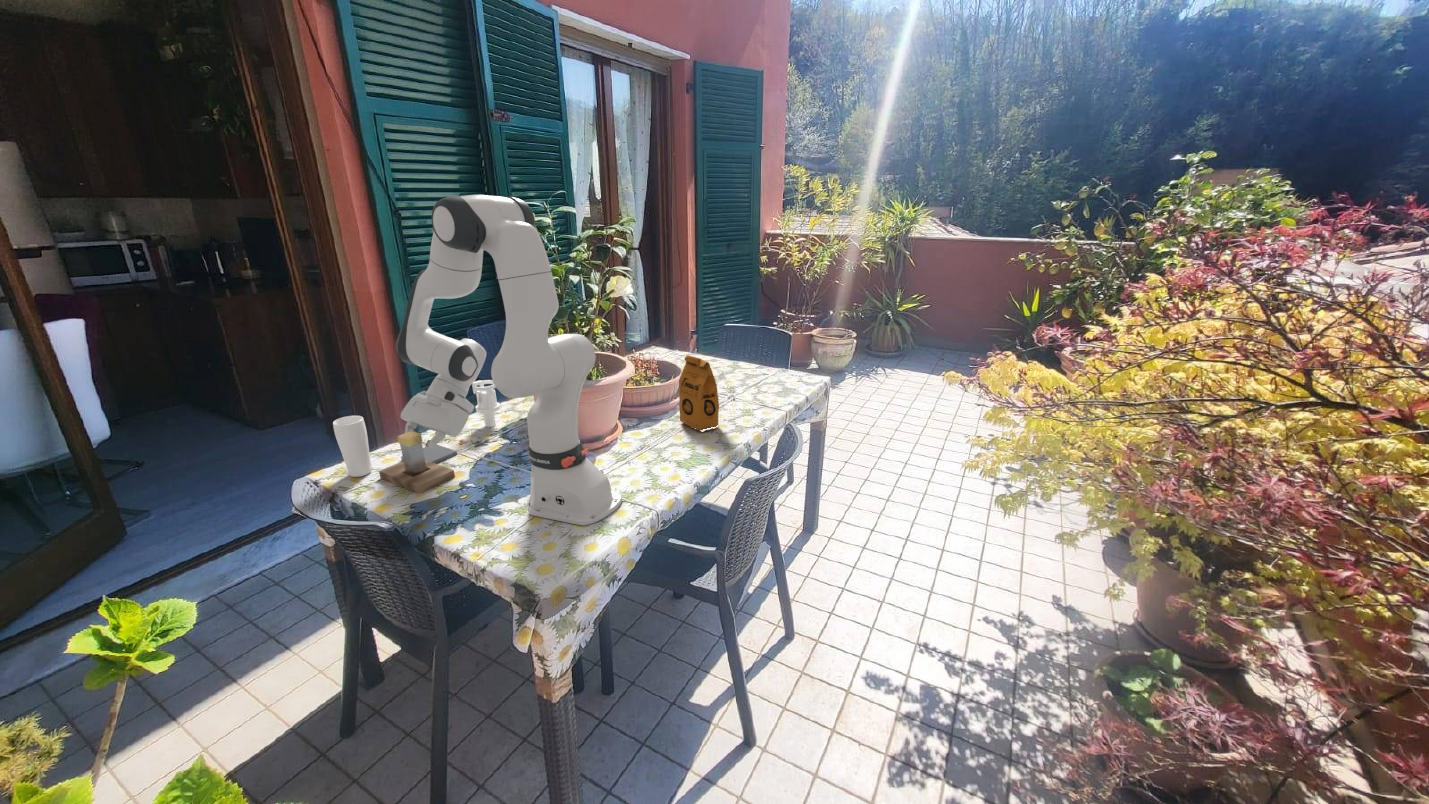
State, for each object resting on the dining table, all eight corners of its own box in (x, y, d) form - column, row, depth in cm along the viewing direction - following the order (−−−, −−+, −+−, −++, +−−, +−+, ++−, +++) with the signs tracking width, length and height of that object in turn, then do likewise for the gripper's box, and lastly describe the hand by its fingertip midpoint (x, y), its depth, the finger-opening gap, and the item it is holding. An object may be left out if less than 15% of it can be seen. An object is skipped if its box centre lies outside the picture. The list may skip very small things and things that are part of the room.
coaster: (457, 454, 159) (456, 451, 159) (424, 468, 151) (423, 465, 150) (434, 446, 164) (433, 443, 163) (401, 460, 155) (400, 456, 155)
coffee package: (697, 435, 172) (697, 366, 164) (675, 423, 181) (674, 356, 173) (723, 428, 177) (724, 360, 169) (701, 416, 186) (700, 351, 179)
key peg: (429, 476, 147) (420, 433, 143) (415, 482, 144) (406, 439, 140) (419, 472, 149) (411, 430, 144) (406, 478, 146) (397, 436, 141)
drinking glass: (340, 475, 147) (326, 422, 142) (365, 465, 153) (353, 413, 147) (355, 481, 144) (342, 427, 139) (381, 470, 150) (369, 418, 144)
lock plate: (454, 476, 147) (453, 470, 146) (419, 493, 138) (417, 486, 138) (416, 462, 154) (415, 456, 153) (380, 478, 146) (378, 471, 145)
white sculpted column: (475, 424, 179) (468, 379, 174) (498, 419, 183) (492, 375, 178) (482, 431, 174) (475, 385, 169) (505, 426, 178) (499, 380, 173)
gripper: (411, 384, 151) (382, 430, 147) (461, 397, 142) (433, 447, 137) (429, 394, 156) (402, 439, 152) (479, 408, 147) (452, 457, 143)
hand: (417, 443), depth 145 cm, fingers open, 8 cm apart
